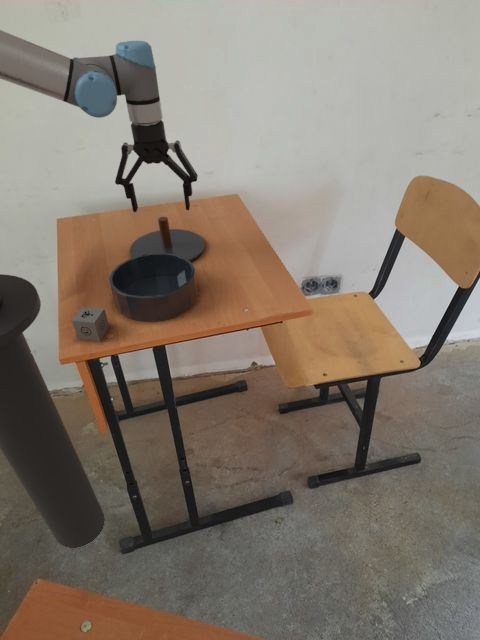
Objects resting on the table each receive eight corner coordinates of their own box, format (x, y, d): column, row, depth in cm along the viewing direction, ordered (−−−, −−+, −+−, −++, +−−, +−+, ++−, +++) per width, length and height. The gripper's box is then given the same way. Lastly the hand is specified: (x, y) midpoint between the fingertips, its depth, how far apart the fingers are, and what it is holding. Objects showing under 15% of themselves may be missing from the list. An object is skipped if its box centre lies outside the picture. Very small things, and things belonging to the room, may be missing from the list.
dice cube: (88, 325, 105) (82, 306, 102) (109, 327, 105) (104, 308, 101) (78, 339, 101) (71, 320, 98) (99, 341, 101) (94, 322, 98)
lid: (124, 270, 123) (116, 238, 117) (137, 233, 138) (130, 203, 132) (202, 267, 123) (199, 235, 117) (206, 231, 138) (203, 201, 132)
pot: (107, 323, 106) (100, 299, 101) (123, 276, 120) (118, 254, 116) (194, 320, 106) (191, 296, 102) (200, 274, 121) (197, 251, 116)
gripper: (201, 114, 112) (210, 200, 126) (96, 118, 112) (116, 204, 125) (199, 124, 106) (209, 213, 120) (88, 128, 106) (110, 217, 120)
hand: (161, 209), depth 123 cm, fingers open, 13 cm apart
